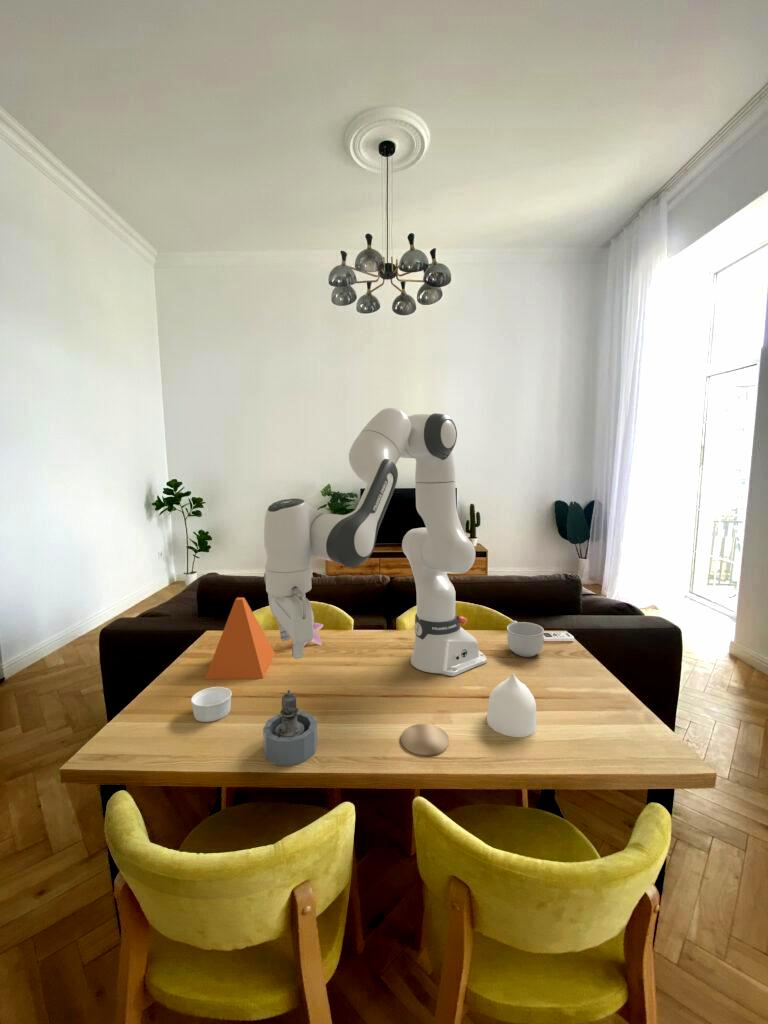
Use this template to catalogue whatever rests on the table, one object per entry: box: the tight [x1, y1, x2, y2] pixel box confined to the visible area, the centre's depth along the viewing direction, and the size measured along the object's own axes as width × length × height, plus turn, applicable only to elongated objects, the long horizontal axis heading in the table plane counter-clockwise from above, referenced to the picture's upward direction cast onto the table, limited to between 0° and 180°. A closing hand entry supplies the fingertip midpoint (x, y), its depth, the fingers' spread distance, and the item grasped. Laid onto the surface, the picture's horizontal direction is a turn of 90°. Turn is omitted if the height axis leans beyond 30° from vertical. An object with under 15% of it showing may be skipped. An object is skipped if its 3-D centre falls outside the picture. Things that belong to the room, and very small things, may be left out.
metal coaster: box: [400, 723, 450, 757], centre depth 95 cm, size 10×10×1 cm
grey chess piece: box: [275, 689, 304, 738], centre depth 91 cm, size 6×6×12 cm
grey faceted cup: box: [262, 710, 318, 767], centre depth 92 cm, size 10×10×5 cm
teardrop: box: [486, 672, 538, 738], centre depth 101 cm, size 11×11×12 cm
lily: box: [304, 610, 324, 647], centre depth 145 cm, size 12×12×10 cm
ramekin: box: [190, 686, 233, 723], centre depth 105 cm, size 9×9×4 cm
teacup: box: [506, 620, 545, 658], centre depth 139 cm, size 14×11×8 cm
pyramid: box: [204, 597, 276, 680], centre depth 128 cm, size 16×16×20 cm
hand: (290, 648), depth 91 cm, fingers open, 8 cm apart
